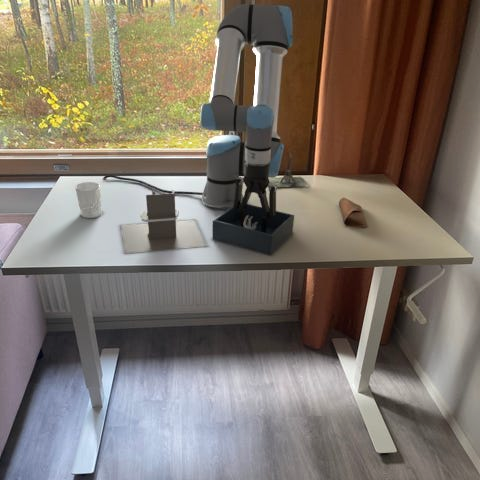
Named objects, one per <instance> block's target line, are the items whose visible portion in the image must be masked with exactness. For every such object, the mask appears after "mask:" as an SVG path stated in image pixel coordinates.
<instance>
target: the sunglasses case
mask: <svg viewBox="0 0 480 480" xmlns="http://www.w3.org/2000/svg"><path fill="white" fill-rule="evenodd" d="M338 206H339V210H340V214H341V217H342V222H343V224H344V225H345V227H347V228H348V227H349V228H367V227H368V226H367V225H368V224H367V221H366V218H365V216H364V212H363V209H362V206H361V205H360V204H357V203H355V202H354V201H352V200H350V199H348V198H346V197H341V198H340V199H339V201H338Z"/></svg>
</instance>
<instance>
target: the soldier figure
mask: <svg viewBox="0 0 480 480" xmlns="http://www.w3.org/2000/svg"><path fill="white" fill-rule="evenodd" d="M248 216H249V215H247V216H246V218H245V220H244V223H243V226H244V228H248V229H252V230H255V229H256V225H257V223H258V222H255V223H254V224H252V226H253V227H251V219H252V218H253V217H252V216H251V217H250V218H249V219H248ZM247 219H248V220H247ZM246 220H247V221H248V223H247V225H246Z"/></svg>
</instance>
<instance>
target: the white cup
mask: <svg viewBox="0 0 480 480" xmlns="http://www.w3.org/2000/svg"><path fill="white" fill-rule="evenodd" d="M74 188H75V193H76V197H77V201H78V206H79V209H80V215H81V217H83V218H87V219H94V218H98V217H100V216H102V197H101V186H100V184H99V183H98V182H93V181H85V182H81V183H78V184H76V185H75V186H74Z"/></svg>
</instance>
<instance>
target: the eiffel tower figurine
mask: <svg viewBox="0 0 480 480" xmlns="http://www.w3.org/2000/svg"><path fill="white" fill-rule="evenodd" d="M288 155H289V156H288V163H287V167H286V170H285V173H284V175H283V176H281V177H274V178H269V182H270V183H271V184H273V185H277V186H278V188H288V187H289V188H292V187H302V188H303V187H304V188H305V187H307V188H309V187H310V186H309V185H308V184H307V182H306V181H305V180H304V179H303V178H302V176H294V175H293V173H292V169H291V167H292V166H291V163H292V162H291V159H292V158H291V157H292V153H291V150H290V151H289V154H288Z"/></svg>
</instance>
